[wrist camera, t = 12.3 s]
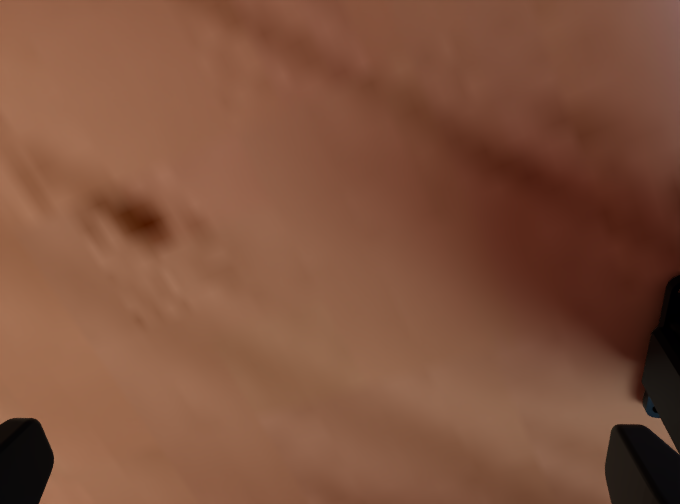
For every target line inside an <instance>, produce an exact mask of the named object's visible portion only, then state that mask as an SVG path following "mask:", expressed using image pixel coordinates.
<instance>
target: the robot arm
mask: <svg viewBox="0 0 680 504" xmlns="http://www.w3.org/2000/svg"><path fill="white" fill-rule="evenodd" d="M679 289H680V275H679V276H676V277H674V278H672V279H671V280H670V281H669V282H668V284H667V287H666V291H665V296H664V301H663V306H662V310H661V315H660V320H659V325H658V327H656V328H655V329H654V330H653V332H652V333H651V337H650V342H649V347H648V352H647V357H646V362H645V367H644V372H643V377H642V384H643V386H644V388H645V392H644V397H643V407H644V409H645V411H646V412H647V414H648V415H649V416H651V417H654V418H661V420H662V422H663V424H664V426H665V428H666V430H667V431H668V433H669V435H670V437H671V439H672V441H673V443H674V445H675V447H676V449H677V450H678V452H679V454H680V293H679V292H678V291H679ZM679 454H678V453H677V452H676V451H674V450H673V449H672V448H671V447H670V446H669V445H667V444H666V443H665V442H664V441H663V440H662V439H660V438H659V437H658V436H657V435H656V434H655V433H653V432H652V431H651V430H650V429H649V428H647V427H645V426H643V425H639V424H618V425H615V426H614V427H613V428H612V430H611V434H610V440H609V445H608V451H607V457H606V462H605V476H606V482H607V486H608V490H609V495H610V499H611V503H612V504H680V455H679ZM53 464H54V455H53V451H52V449H51V447H50V444H49V442H48V440H47V437H46V435H45V433H44V430H43V428H42V426H41V424H40V422H39V421H38V420H36V419H34V418H13V419H9V420H7V421H5V422H4V423H2V424H1V425H0V504H39V502H40V499H41V497H42V494H43V492H44V489H45V487H46V484H47V481H48V479H49V476H50V474H51V471H52V468H53Z"/></svg>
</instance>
